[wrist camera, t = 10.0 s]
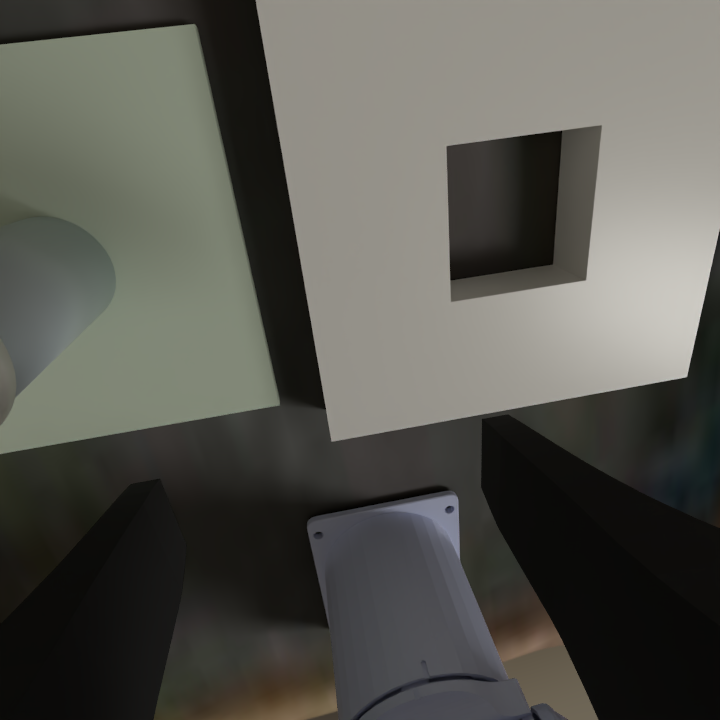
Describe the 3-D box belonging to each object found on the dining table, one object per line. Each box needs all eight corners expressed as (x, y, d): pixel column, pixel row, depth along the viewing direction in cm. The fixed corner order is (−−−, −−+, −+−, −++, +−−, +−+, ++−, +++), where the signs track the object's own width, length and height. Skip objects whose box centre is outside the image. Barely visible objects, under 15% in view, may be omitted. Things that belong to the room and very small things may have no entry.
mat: (279, 399, 21) (279, 405, 21) (-47, 455, 20) (-55, 463, 20) (197, 27, 15) (194, 23, 15) (-281, 78, 14) (-299, 76, 14)
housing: (647, 353, 23) (686, 377, 21) (326, 410, 22) (331, 441, 20) (721, -65, 16) (792, -98, 14) (253, -18, 15) (247, -46, 13)
